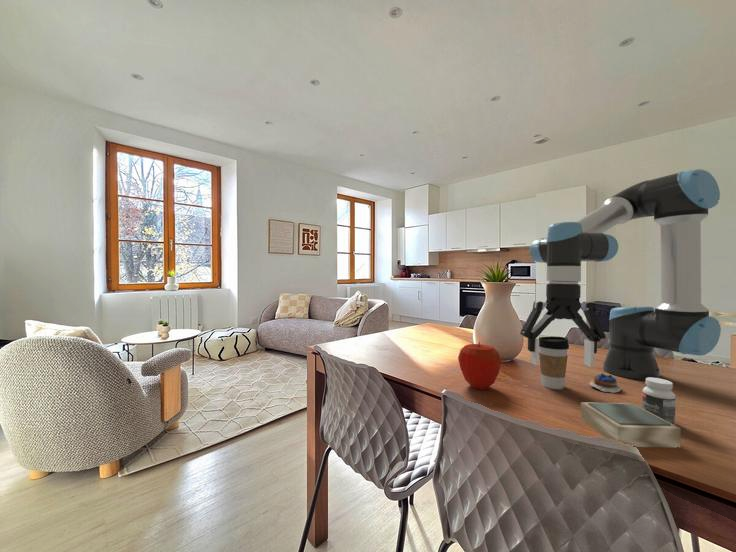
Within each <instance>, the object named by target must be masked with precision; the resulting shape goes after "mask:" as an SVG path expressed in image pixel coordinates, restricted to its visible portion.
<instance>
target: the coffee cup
mask: <svg viewBox="0 0 736 552" xmlns="http://www.w3.org/2000/svg"><path fill="white" fill-rule="evenodd" d="M538 340H539V368H540V376H541V379H540V380H541V386H543V387H544V388H548V389H552V390H564V388H565V382H566V373H567V364H568V363H567V362H568V357H569V356H568V350H569V349H570V348H569V347H570V345H569V339H568V338H567V337H563V336H540V337H538Z"/></svg>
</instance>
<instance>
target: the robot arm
mask: <svg viewBox="0 0 736 552" xmlns="http://www.w3.org/2000/svg"><path fill="white" fill-rule="evenodd" d="M720 197H721V193H720V187H719V184H718V182H717V180H716V178H715V177H714V176H713V174H711V173H710V172H709V171H707V170H705V169H703V168H702V169H701V168H700V169H691V170H686V171H680V172H677V173H674V174H669V175H665V176H661V177H657V178H654V179H650V180H649V179H647V180H644V181H640V182H638V183H636V184H633V185H631V186H629V187H627V188H625V189H623V190H621V191H619V192H617V193H616V194H614V195H612V196H611V197H609V198H608V199H605V201H604V202H603V203H602V204H601V206H600V207H598V208H596V209H595V210H593V211H591V212H590V213H588V214H586V215H584V216H583V217H581V218H579V219H578V220H576V221H564V222H555V223H552V224H550V225H549V226H548V228H547V237H546V238H543V237H542V238H540V239H539V238H538V239H535V240H534V241H532V242H531V243H530V246H529V255H530V258H531V259H532V261H534V262H536V263H543V264H546V281H547V282H548V283H547V284H546V287H545V288H546V289H545V290H546V291H545V292H546V293H545V296H546V300H545V301H541V300H534V301H533V305H532V309H531V311H530V313H529V315H528V317H527V319H526V321H524V322H525V323H524V324H523V326H522V328H521V329H520V331H519V333H520V335H521V336H522V337H525V338H527V349H528V351H529V352H530V363H531V364H532V365H533V366H537V367H538V366H539V367H540V359H539V339H537V338H539V336H540V335H541V334H542V333H543V331H544V330H545V329H547V327H548V326H549V325H550V324H551V323H552V321H553V322H554V321H555V320H556V319H557V320H570V321H571V320H572V322H573V323H574V324H575V325H576V326H577V327H578V328H579V330H581V332H582V333H583V334H584V336H585V337H586V339H585V338H584V341H583V343H584V345H583V365H585V366H587V367H589V368H594V366H595V354H597V351H598V343H599V342H600V341H601V339H602V340H604V339H606V337H607V335H606V333H605V331H604V329H603V327H602V325H601V323H600V321H599V320H598V317H597V315H596V313H595V311H594V303H593V302H589V301H583V302H580V299H581V289H582V287H581V284H579V283H580V282H581V281H582V262H595V263H598V262H607V261H611V259H613V258H614V257H615V256H616V255H617V253H618V251H619V243H618V240H617V238H616V237H614V236H613V235H610V234H607V233H605V232H607V231H608V230H610V229H612V228H614V227H615V226H617V225H623V224H626V223H628V222H629V221H632V220H635V219H641V218H646V217H647V218H648V217H653V221H654V222H655V223H656V224H658V225H659V226H660V279H661V281H660V288H661V289H660V290H661V291H660V293H661V294H660V295H661V297H660V298H661V300H660V301H661V302H660V303H659V304H657V305H656V306H654V307H653V306H626V307H625V306H624V307H623V306H621V307H619V306H618V307H614V308H613V307H612V308H611V309H610V312H609V317H608V318H609V319H608V320H609V325H608V326H609V332H608V333H609V341H608V342H609V349H608V351H607V353H606V356H605V358H604V361H602V363H603V364H602V370H603V371H604V372H606V373H608V374H610V375H612V376H613V375H614V376H618V377H622V378H625V379H632V380H640V381H646V378H648V377H652V378H660V379H661V370H660V368H659V366H658V363H657V360H656V357H655V354H654V348H655V349H660V350H664V351H670V352H675V353H679V354H683V355H691V356H699V357H702V356H706V355H707V354H709V353H711V352H712V351H713V350H714V349H715V348H716V347H717V345H718V343H719V340H720V337H721V331H722V330H721V329H722V327H721V324H720V321H719V320H718V319H717V318H715V317H713V316H710V309H709V308H708V307H706V306H705V305H704V304H703V303H702V230H701V228H702V226H701V225H702V224H701V222H702V221H704V219H706V218H707V217H708V216H709V209H712V208H715V207H716V206H718V204H719V200H720ZM544 309H546V310H547V311H546V312H545V313H544V314H543V316H542V318H541V319H540V318H539V317H540V316H541V314H542V312H543V310H544ZM580 310H582V313H583V315H584V316H585V319H586V321H587V322H588V323H586V321H585V320H584V319H583V316H582V315H581V314H580V313H579V311H580ZM538 319H540V320H539V321H538ZM537 321H538V322H537Z"/></svg>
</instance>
